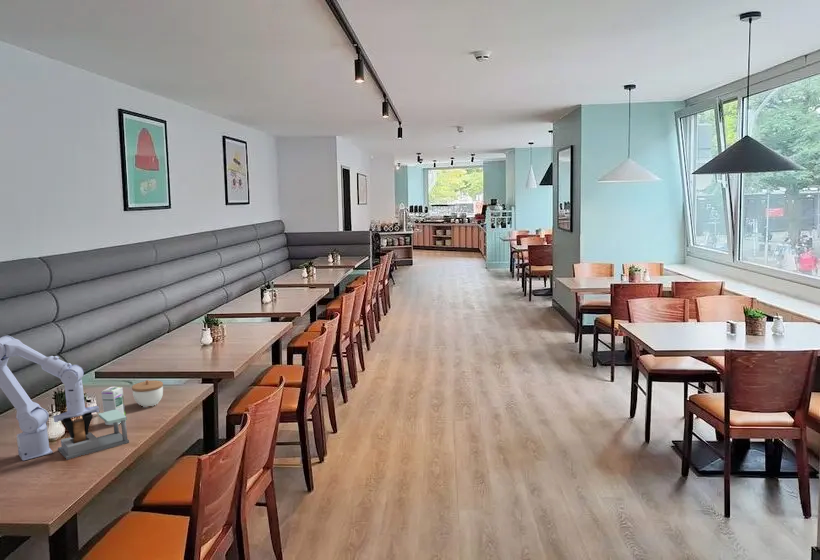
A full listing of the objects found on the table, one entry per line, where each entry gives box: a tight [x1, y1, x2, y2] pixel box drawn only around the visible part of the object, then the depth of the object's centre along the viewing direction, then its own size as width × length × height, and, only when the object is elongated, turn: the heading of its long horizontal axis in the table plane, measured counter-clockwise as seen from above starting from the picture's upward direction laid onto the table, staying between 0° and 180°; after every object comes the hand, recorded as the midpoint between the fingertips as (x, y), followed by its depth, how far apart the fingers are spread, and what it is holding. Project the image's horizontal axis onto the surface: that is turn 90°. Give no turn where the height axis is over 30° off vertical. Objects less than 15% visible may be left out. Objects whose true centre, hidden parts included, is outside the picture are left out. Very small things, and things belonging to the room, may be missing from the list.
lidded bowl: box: [131, 379, 164, 408], centre depth 273 cm, size 13×13×11 cm
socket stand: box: [57, 409, 130, 461], centre depth 228 cm, size 21×12×10 cm, turn 132°
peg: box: [71, 418, 86, 443], centre depth 225 cm, size 4×4×8 cm
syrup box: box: [100, 386, 127, 426], centre depth 252 cm, size 6×6×14 cm
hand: (79, 435), depth 225 cm, fingers closed on peg, 4 cm apart
